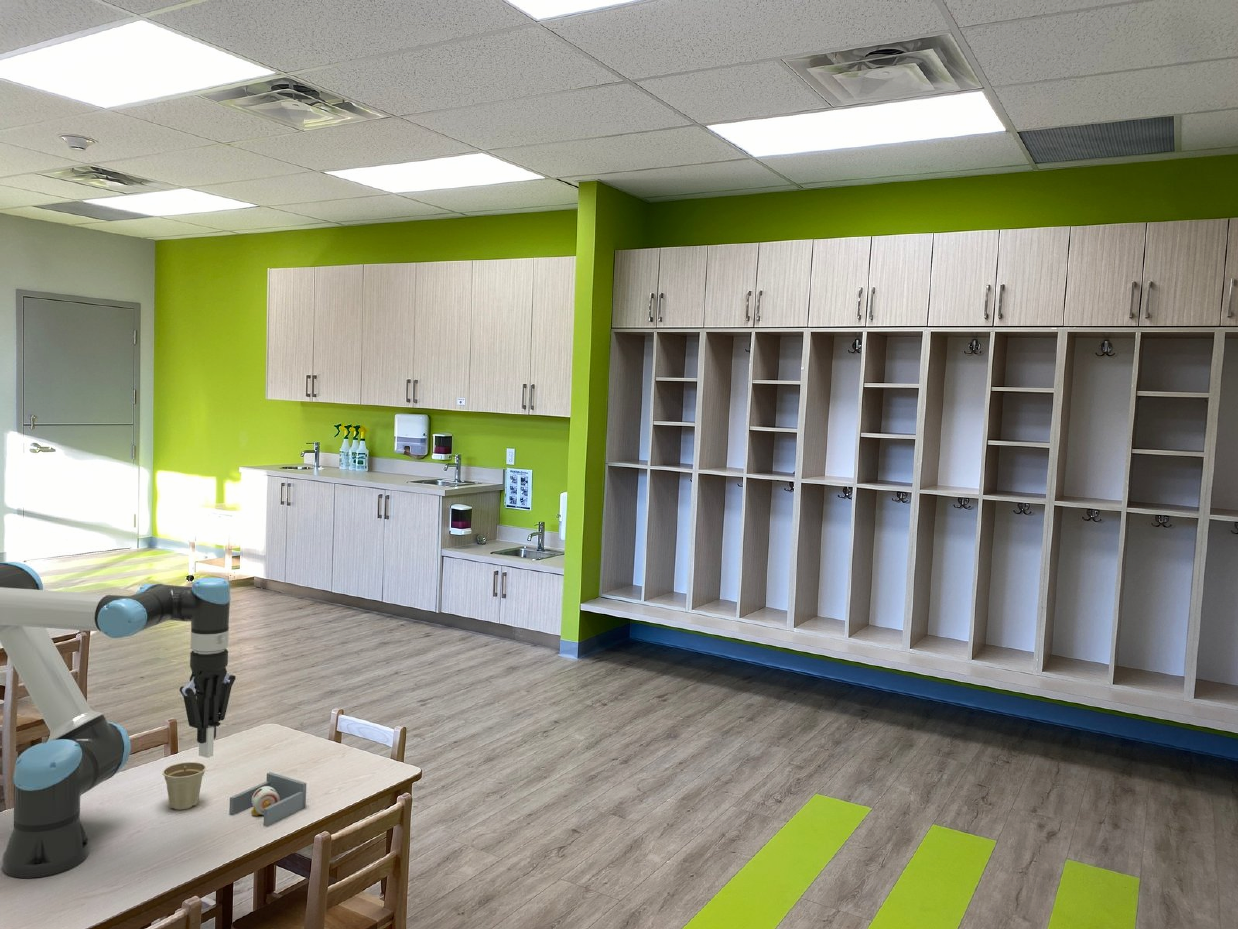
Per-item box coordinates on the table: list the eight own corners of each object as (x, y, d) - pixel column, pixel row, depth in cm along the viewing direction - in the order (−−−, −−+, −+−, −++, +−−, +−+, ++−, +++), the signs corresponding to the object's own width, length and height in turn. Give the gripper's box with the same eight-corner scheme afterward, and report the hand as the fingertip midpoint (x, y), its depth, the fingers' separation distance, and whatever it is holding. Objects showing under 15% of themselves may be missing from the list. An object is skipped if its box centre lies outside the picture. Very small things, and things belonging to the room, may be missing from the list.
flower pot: (155, 803, 215) (156, 767, 215) (196, 793, 222) (197, 758, 221) (169, 817, 208) (170, 780, 208) (211, 806, 215) (212, 770, 215)
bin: (266, 826, 206) (267, 801, 206) (229, 814, 211) (230, 789, 211) (305, 807, 217) (306, 783, 217) (269, 795, 222) (269, 772, 222)
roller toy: (281, 813, 213) (282, 790, 213) (253, 819, 210) (254, 795, 209) (276, 806, 217) (277, 783, 216) (248, 812, 213) (249, 788, 213)
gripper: (196, 659, 188) (192, 769, 190) (245, 646, 200) (242, 750, 201) (171, 653, 191) (167, 761, 193) (221, 640, 203) (218, 743, 204)
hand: (205, 755), depth 197 cm, fingers closed
